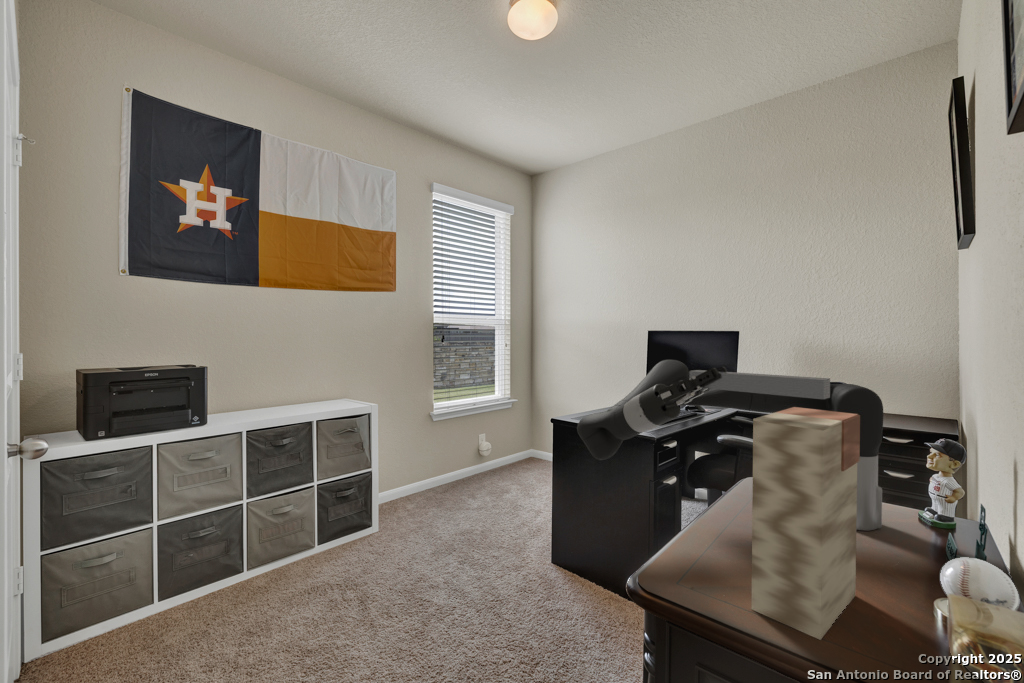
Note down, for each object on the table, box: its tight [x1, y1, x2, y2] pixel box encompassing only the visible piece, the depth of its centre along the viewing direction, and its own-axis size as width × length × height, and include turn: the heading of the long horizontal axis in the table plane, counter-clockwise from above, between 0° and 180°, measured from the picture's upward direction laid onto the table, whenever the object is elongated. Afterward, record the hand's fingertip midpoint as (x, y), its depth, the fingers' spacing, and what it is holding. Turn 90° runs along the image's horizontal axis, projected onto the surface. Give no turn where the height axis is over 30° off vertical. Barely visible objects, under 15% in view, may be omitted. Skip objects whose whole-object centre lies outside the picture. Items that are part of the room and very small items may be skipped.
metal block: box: [688, 369, 831, 399], centre depth 80 cm, size 22×3×3 cm, turn 40°
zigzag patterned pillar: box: [751, 407, 860, 641], centre depth 79 cm, size 10×18×32 cm, turn 130°
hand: (721, 372), depth 84 cm, fingers closed on metal block, 3 cm apart
